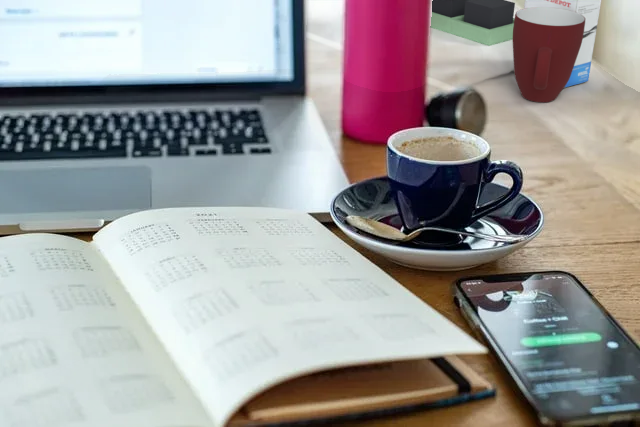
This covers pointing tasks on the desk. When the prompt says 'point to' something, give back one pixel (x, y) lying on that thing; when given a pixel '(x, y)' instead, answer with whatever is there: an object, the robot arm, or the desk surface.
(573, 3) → the ink box
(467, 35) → the holder
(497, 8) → the dark grey block
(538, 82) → the mug
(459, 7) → the black block
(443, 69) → the desk surface
